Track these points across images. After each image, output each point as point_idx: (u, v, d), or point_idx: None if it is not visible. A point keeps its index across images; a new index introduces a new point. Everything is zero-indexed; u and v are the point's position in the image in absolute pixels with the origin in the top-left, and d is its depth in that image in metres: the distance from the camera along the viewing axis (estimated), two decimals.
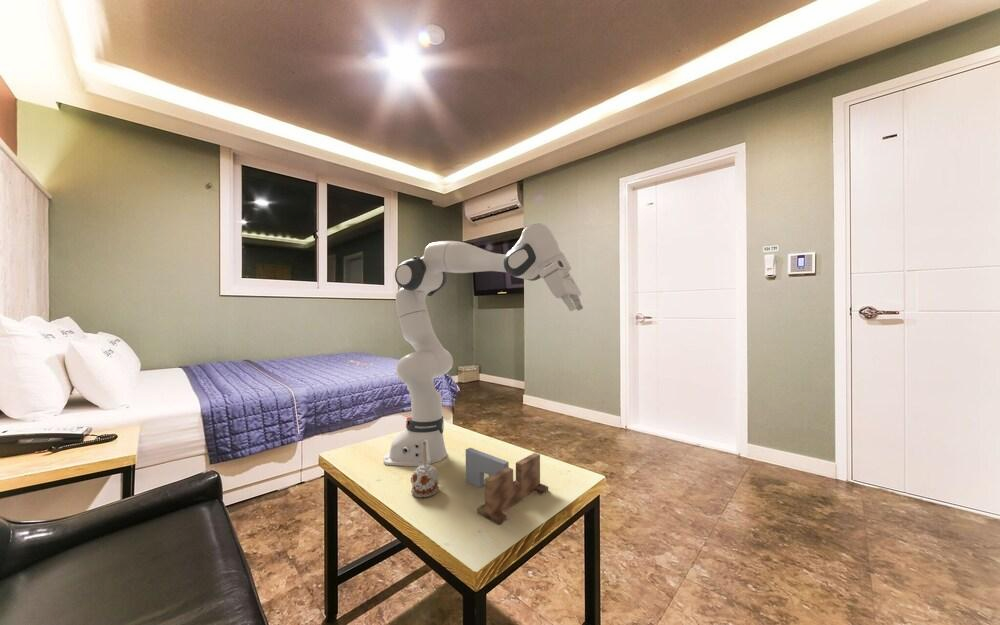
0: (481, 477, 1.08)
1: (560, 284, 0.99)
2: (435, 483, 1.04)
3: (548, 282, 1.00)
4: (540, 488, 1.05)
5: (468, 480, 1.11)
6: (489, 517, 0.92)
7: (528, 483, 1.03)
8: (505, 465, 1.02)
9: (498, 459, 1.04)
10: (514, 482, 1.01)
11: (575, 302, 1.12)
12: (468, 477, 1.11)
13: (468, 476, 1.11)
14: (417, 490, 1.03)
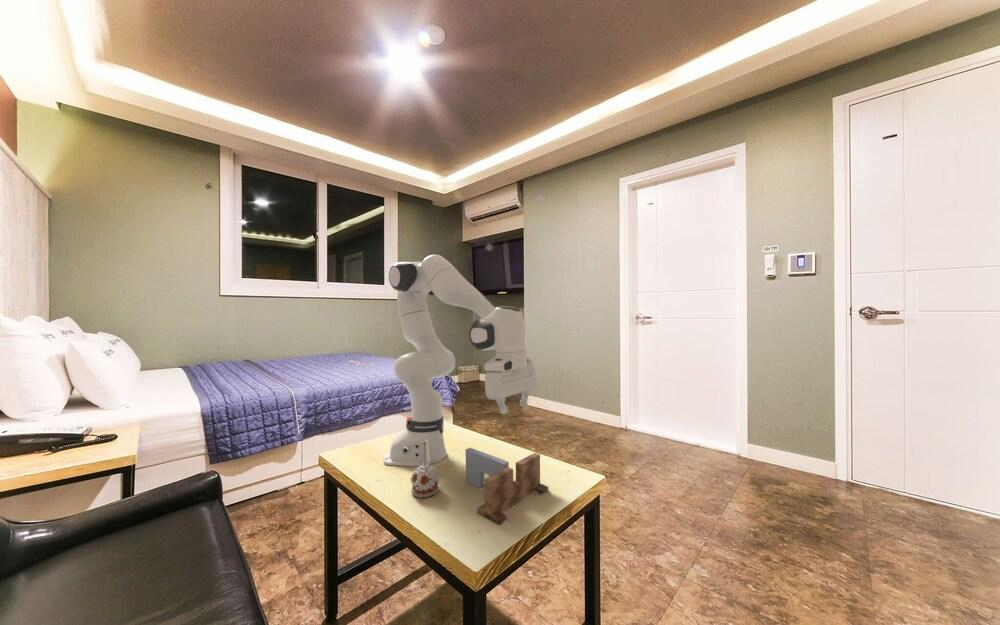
0: (481, 477, 1.08)
1: (493, 390, 0.94)
2: (435, 483, 1.04)
3: (486, 380, 0.96)
4: (540, 488, 1.05)
5: (468, 480, 1.11)
6: (489, 517, 0.92)
7: (528, 483, 1.03)
8: (505, 465, 1.02)
9: (498, 459, 1.04)
10: (514, 482, 1.01)
11: (523, 395, 1.07)
12: (468, 477, 1.11)
13: (468, 476, 1.11)
14: (417, 490, 1.03)
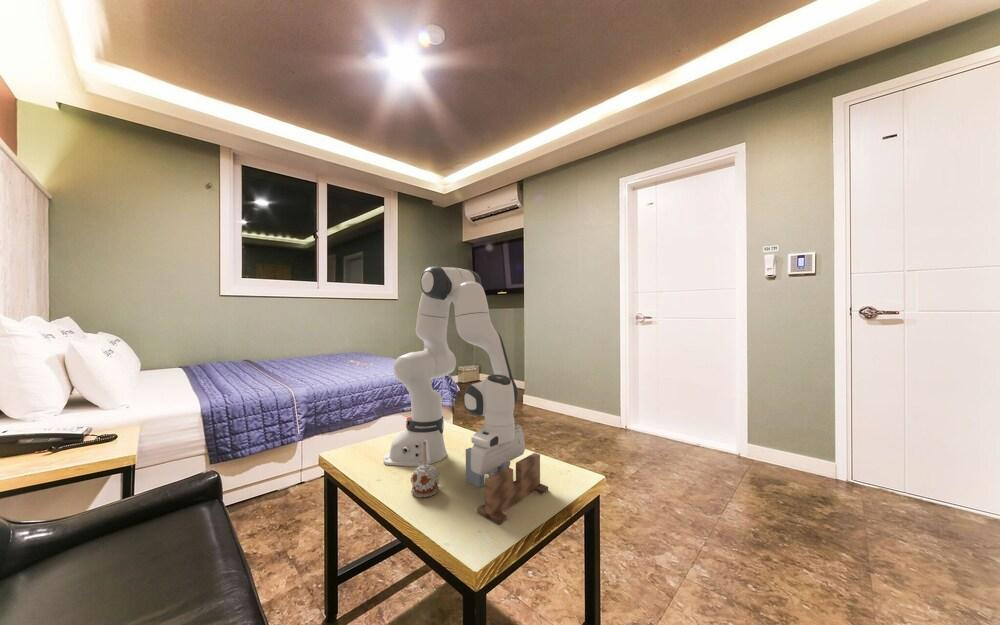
0: (481, 477, 1.08)
1: (478, 466, 0.95)
2: (435, 483, 1.04)
3: (472, 454, 0.97)
4: (540, 488, 1.05)
5: (468, 480, 1.11)
6: (489, 517, 0.92)
7: (528, 483, 1.03)
8: (505, 465, 1.02)
9: None
10: (514, 482, 1.01)
11: None
12: (468, 477, 1.11)
13: (468, 476, 1.11)
14: (417, 490, 1.03)
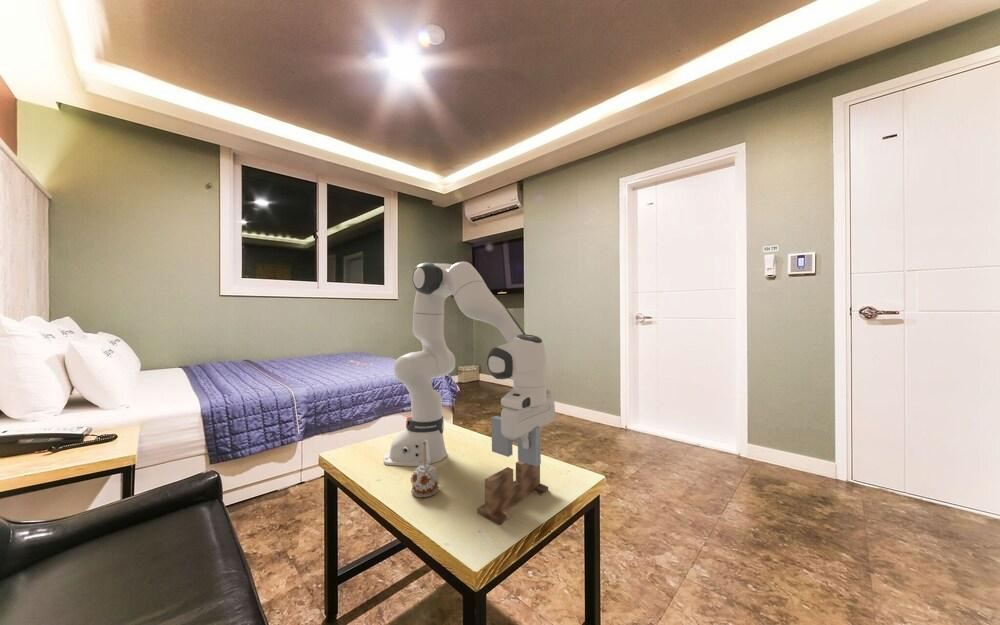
0: (509, 446, 1.01)
1: (510, 429, 0.88)
2: (435, 483, 1.04)
3: (502, 417, 0.90)
4: (540, 488, 1.05)
5: (494, 450, 1.04)
6: (489, 517, 0.92)
7: (528, 483, 1.03)
8: (537, 430, 0.94)
9: None
10: (514, 482, 1.01)
11: None
12: (494, 447, 1.04)
13: (495, 446, 1.04)
14: (417, 490, 1.03)
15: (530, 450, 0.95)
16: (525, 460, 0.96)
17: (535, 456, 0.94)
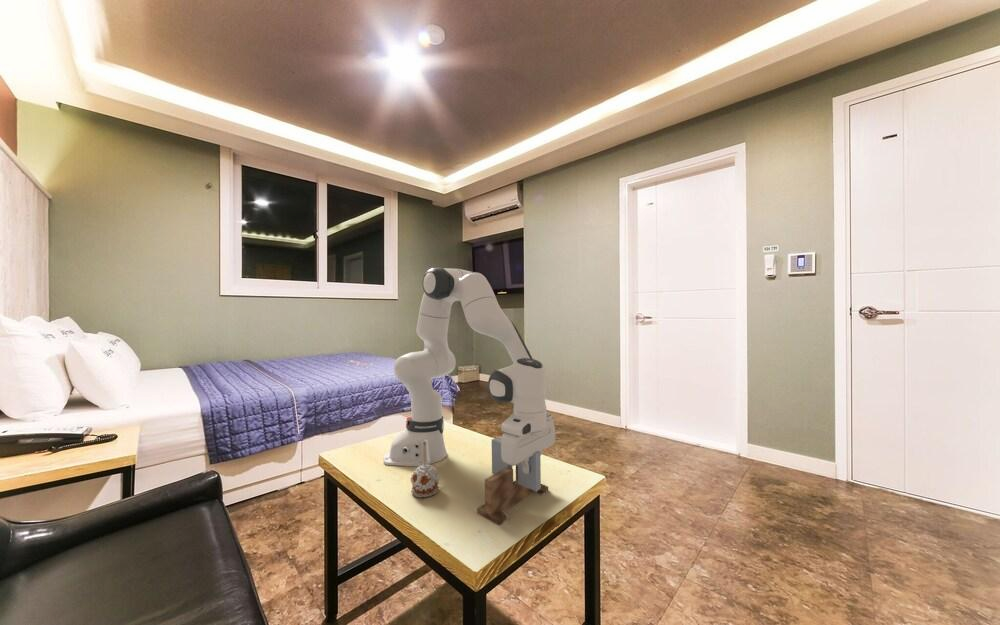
0: None
1: (510, 455, 0.88)
2: (435, 483, 1.04)
3: (503, 443, 0.90)
4: None
5: (495, 472, 1.04)
6: (489, 517, 0.92)
7: None
8: (537, 455, 0.94)
9: None
10: (514, 482, 1.01)
11: None
12: (494, 469, 1.04)
13: (495, 469, 1.04)
14: (417, 490, 1.03)
15: (530, 475, 0.95)
16: (525, 484, 0.96)
17: (535, 481, 0.94)
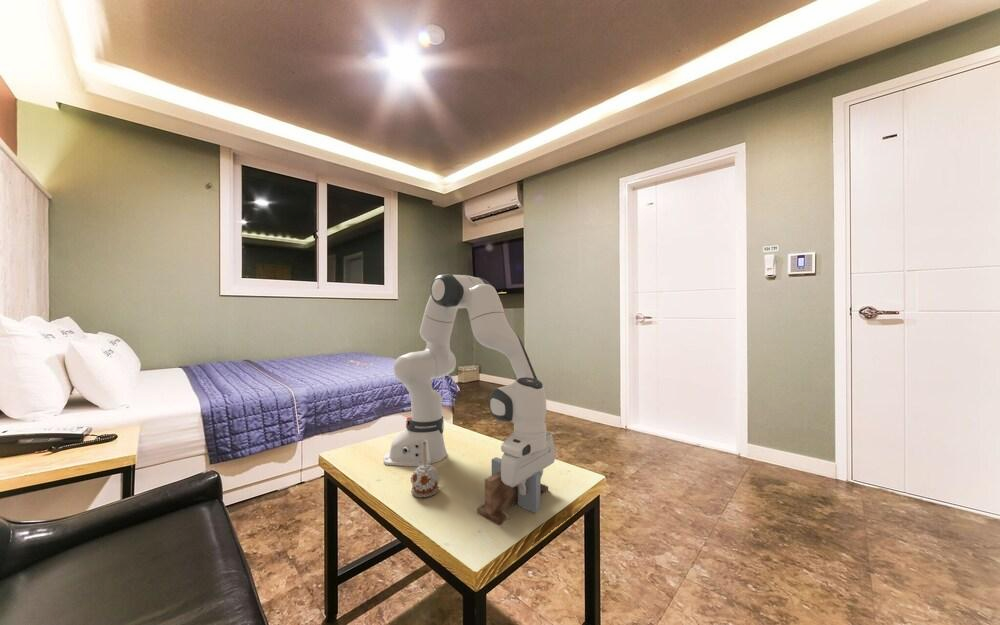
0: None
1: (510, 477, 0.88)
2: (435, 483, 1.04)
3: (502, 464, 0.90)
4: (540, 488, 1.05)
5: None
6: (489, 517, 0.92)
7: None
8: (537, 477, 0.94)
9: None
10: None
11: None
12: None
13: None
14: (417, 490, 1.03)
15: (530, 496, 0.95)
16: (525, 506, 0.97)
17: (535, 503, 0.94)
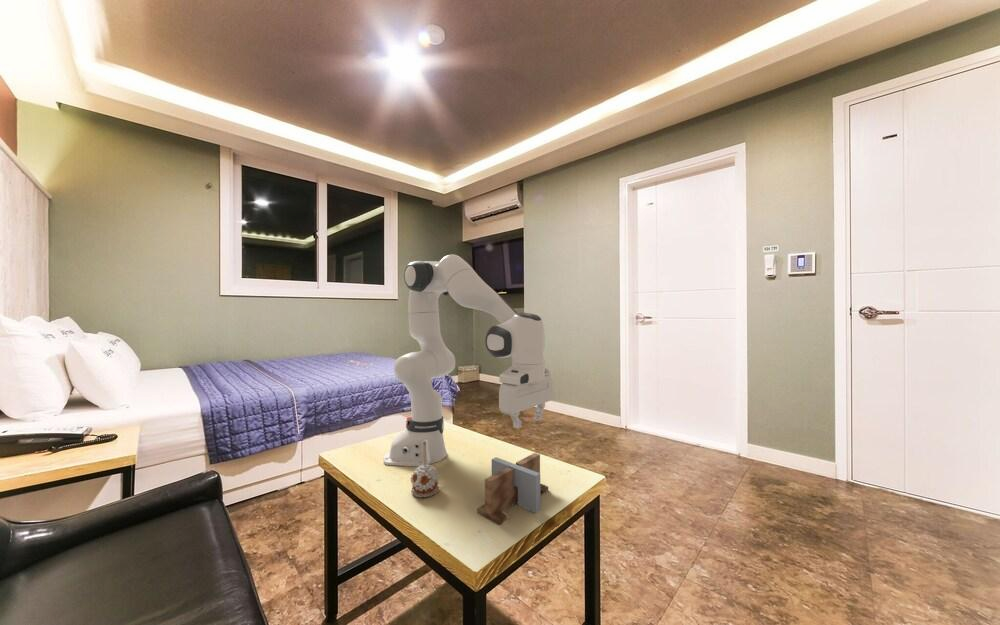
0: None
1: (508, 404, 0.89)
2: (435, 483, 1.04)
3: (500, 393, 0.91)
4: (540, 488, 1.05)
5: None
6: (489, 517, 0.92)
7: None
8: (537, 477, 0.94)
9: (529, 470, 0.97)
10: None
11: (538, 407, 1.01)
12: None
13: None
14: (417, 490, 1.03)
15: (530, 496, 0.95)
16: (525, 506, 0.97)
17: (535, 503, 0.94)
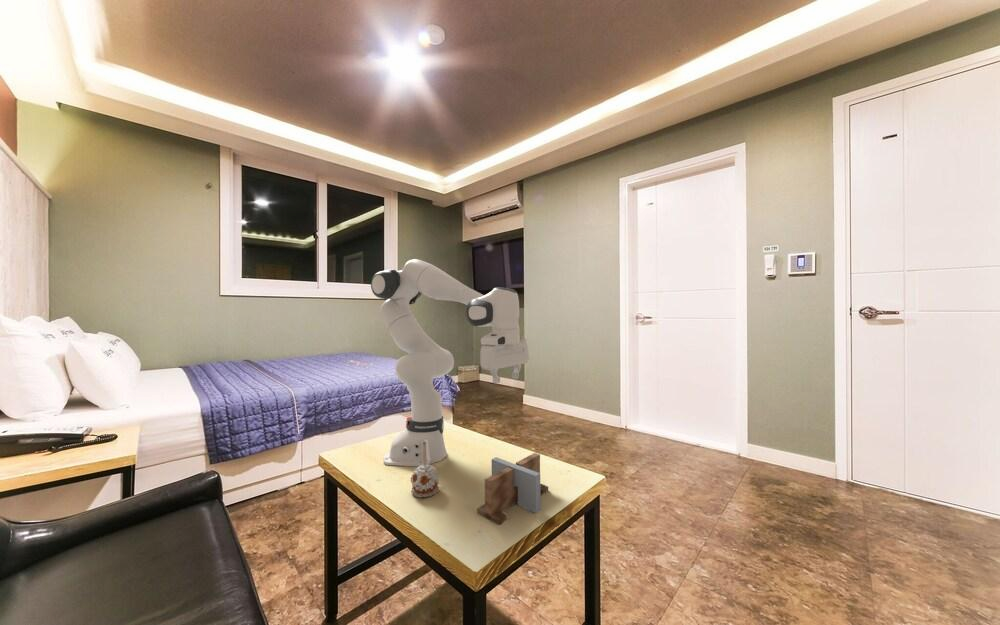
0: None
1: (487, 361, 1.06)
2: (435, 483, 1.04)
3: (481, 352, 1.08)
4: (540, 488, 1.05)
5: None
6: (489, 517, 0.92)
7: None
8: (537, 477, 0.94)
9: (529, 470, 0.97)
10: None
11: (515, 369, 1.19)
12: None
13: None
14: (417, 490, 1.03)
15: (530, 496, 0.95)
16: (525, 506, 0.97)
17: (535, 503, 0.94)
